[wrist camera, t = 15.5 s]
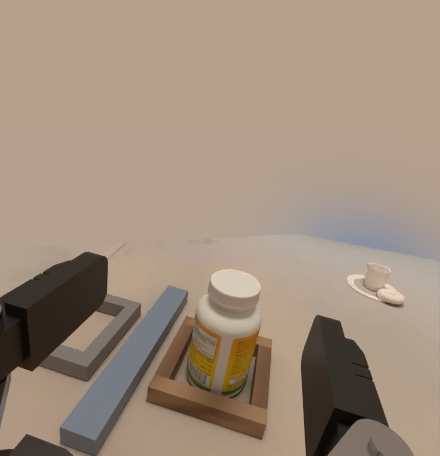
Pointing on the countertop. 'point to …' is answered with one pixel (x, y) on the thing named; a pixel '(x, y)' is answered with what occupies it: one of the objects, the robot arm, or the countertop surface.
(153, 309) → the door sill
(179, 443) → the countertop surface
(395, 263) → the countertop surface
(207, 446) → the countertop surface
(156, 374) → the holder
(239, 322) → the supplement bottle
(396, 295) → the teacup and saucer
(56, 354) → the holder open
